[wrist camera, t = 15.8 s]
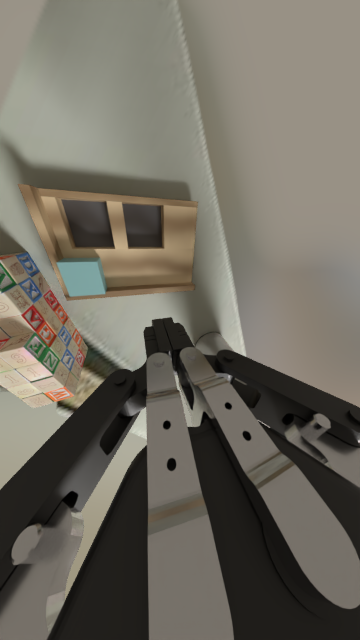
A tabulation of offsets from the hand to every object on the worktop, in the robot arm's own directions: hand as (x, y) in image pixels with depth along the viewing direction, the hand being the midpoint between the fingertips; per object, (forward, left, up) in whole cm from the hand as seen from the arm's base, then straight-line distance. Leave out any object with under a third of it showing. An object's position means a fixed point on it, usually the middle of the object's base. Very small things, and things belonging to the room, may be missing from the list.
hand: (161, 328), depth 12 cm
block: (-1, +9, -19) cm, 20 cm away
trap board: (+3, +1, -21) cm, 21 cm away
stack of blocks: (-8, +18, -21) cm, 29 cm away
